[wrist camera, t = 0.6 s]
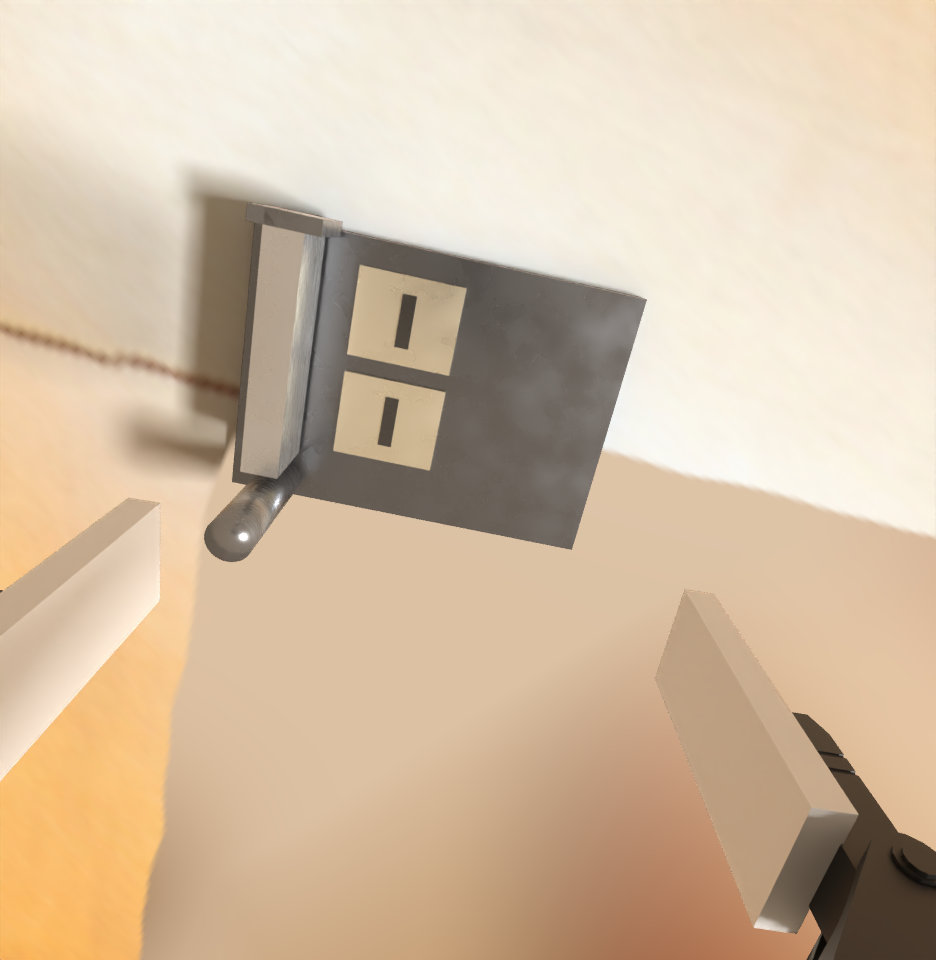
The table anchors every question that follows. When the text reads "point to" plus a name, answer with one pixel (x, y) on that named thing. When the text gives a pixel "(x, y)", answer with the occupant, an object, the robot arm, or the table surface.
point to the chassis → (443, 395)
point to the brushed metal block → (282, 334)
